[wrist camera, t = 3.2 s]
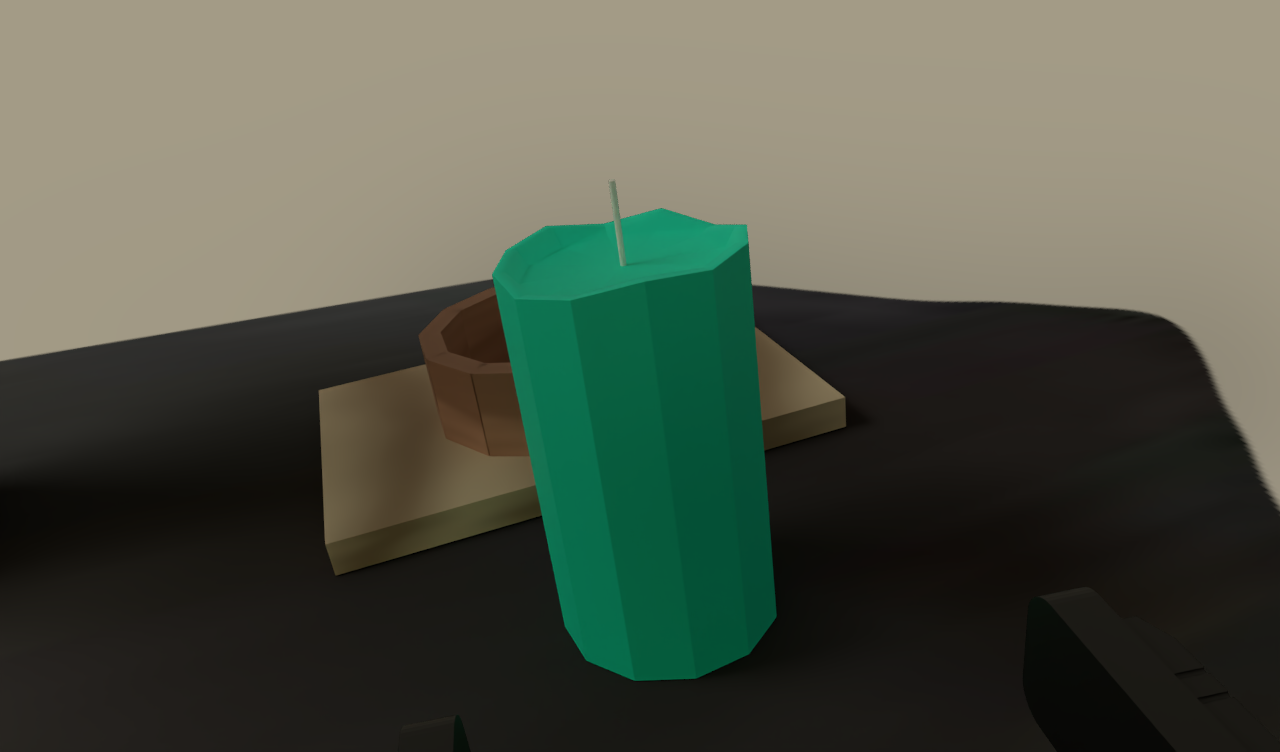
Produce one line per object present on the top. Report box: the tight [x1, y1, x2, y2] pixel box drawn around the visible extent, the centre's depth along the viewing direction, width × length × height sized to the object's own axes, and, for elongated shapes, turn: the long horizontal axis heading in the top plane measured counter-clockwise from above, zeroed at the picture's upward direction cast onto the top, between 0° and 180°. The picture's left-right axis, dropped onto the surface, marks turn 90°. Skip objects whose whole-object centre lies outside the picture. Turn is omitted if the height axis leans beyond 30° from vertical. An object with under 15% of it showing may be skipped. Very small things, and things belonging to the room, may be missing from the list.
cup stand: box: [319, 287, 846, 575], centre depth 35 cm, size 18×12×4 cm, turn 108°
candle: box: [492, 179, 777, 681], centre depth 23 cm, size 6×6×12 cm
